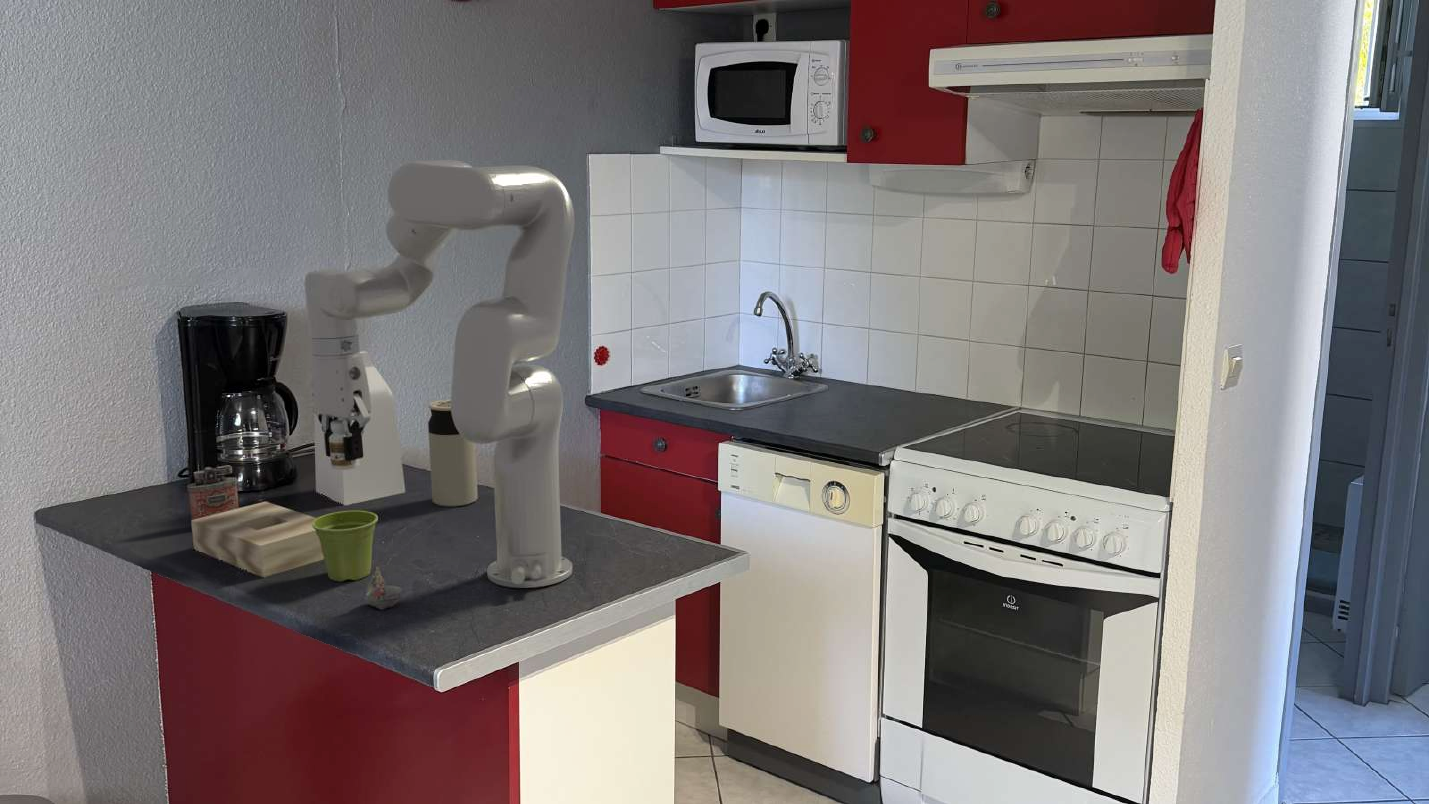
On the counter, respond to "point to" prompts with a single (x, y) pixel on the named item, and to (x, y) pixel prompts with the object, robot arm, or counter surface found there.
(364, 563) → the plant pot
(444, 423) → the travel mug
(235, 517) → the hole block
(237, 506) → the lighter
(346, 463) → the pill bottle
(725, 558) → the counter surface
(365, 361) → the milk
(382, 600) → the figurine
